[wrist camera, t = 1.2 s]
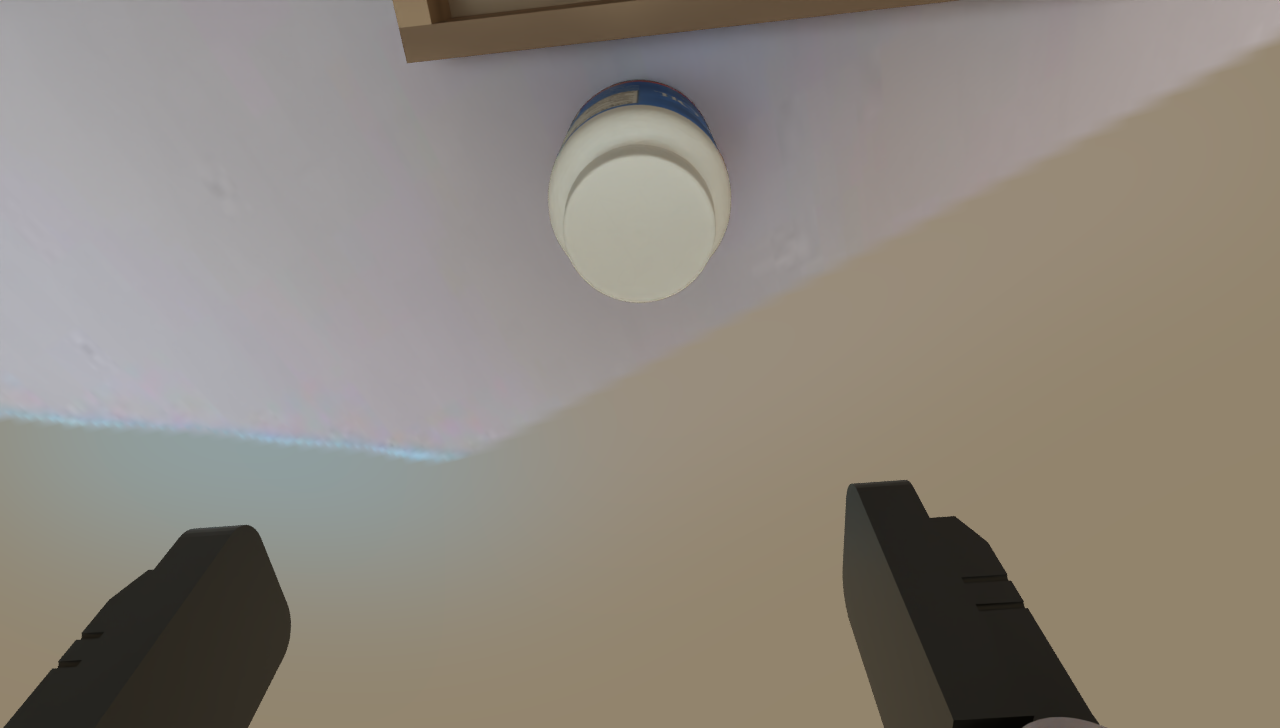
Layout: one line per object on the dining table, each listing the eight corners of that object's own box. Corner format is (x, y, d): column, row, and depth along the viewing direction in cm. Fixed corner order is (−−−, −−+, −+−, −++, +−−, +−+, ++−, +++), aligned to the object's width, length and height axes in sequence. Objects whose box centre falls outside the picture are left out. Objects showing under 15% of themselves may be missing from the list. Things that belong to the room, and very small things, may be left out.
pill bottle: (738, 177, 29) (782, 270, 20) (617, 249, 30) (611, 365, 22) (662, 43, 27) (678, 84, 18) (536, 127, 28) (493, 203, 19)
